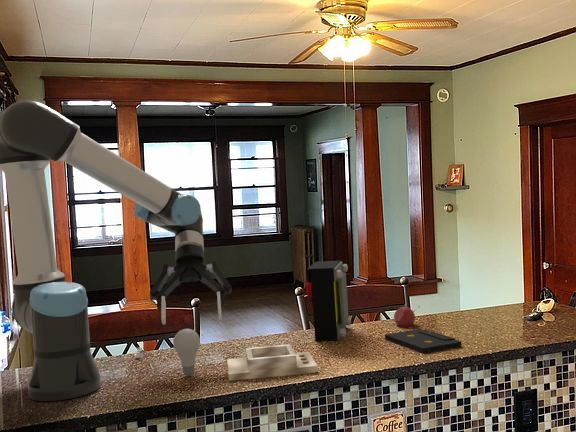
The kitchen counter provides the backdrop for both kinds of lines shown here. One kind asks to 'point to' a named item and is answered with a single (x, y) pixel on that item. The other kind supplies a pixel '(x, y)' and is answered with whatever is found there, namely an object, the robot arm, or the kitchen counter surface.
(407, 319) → the fruit
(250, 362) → the desk organizer
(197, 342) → the lightbulb
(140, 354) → the power adapter
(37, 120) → the robot arm
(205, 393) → the kitchen counter surface
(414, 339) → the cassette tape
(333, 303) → the electrical component
